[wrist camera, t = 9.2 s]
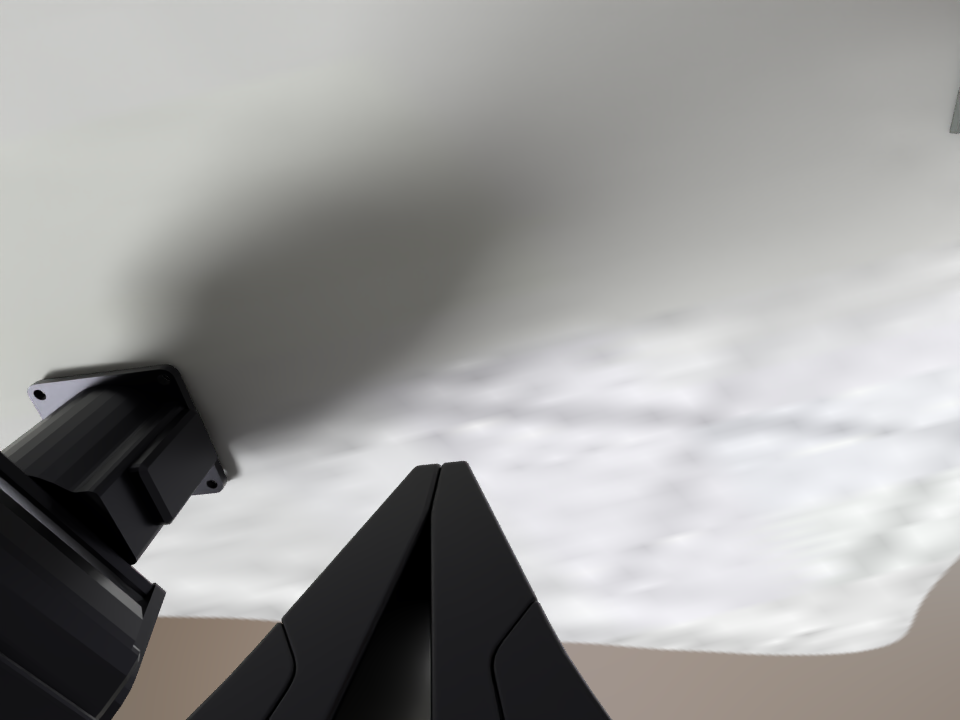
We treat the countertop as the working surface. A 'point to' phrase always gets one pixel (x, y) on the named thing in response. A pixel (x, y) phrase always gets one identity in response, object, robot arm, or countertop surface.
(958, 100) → the mat
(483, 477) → the countertop surface
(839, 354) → the countertop surface
